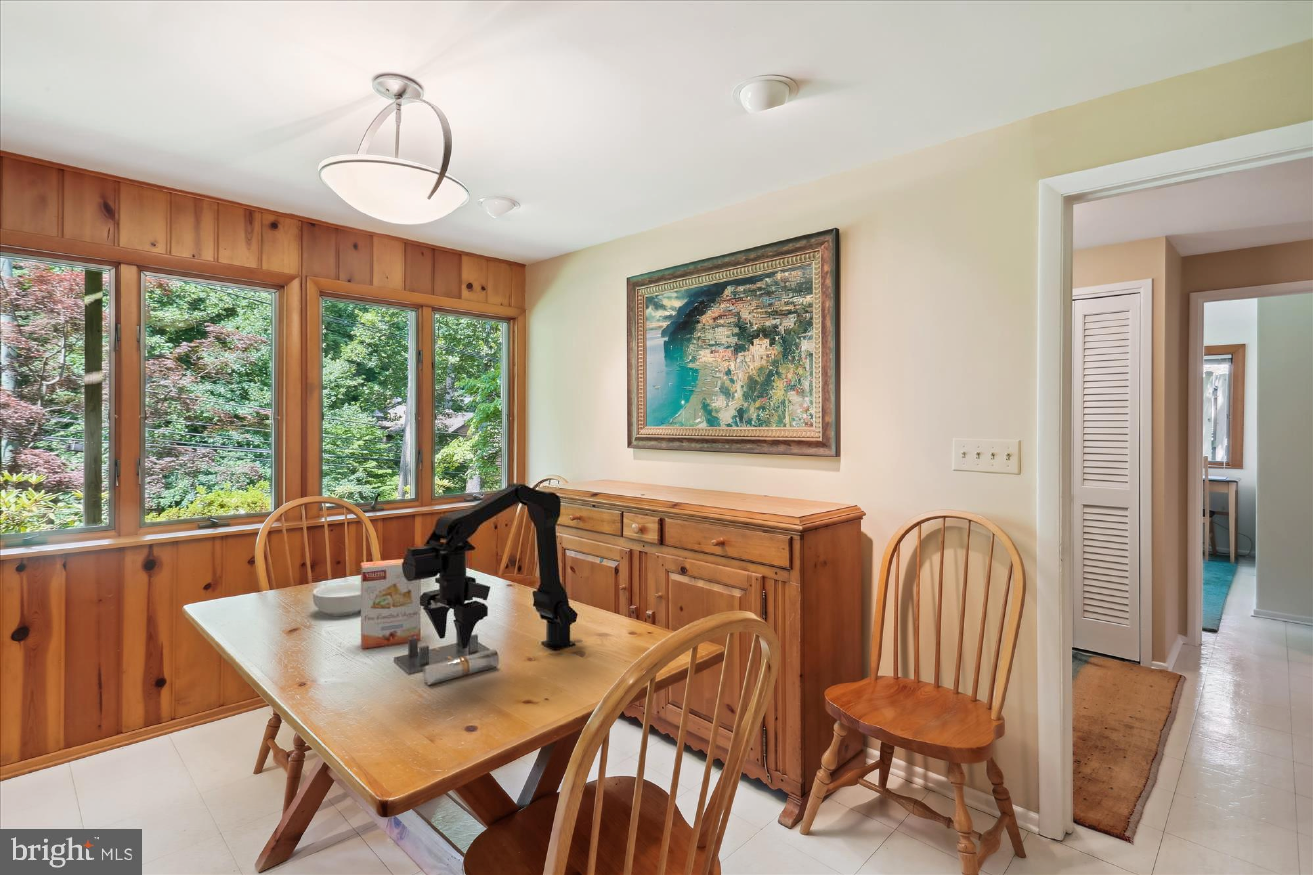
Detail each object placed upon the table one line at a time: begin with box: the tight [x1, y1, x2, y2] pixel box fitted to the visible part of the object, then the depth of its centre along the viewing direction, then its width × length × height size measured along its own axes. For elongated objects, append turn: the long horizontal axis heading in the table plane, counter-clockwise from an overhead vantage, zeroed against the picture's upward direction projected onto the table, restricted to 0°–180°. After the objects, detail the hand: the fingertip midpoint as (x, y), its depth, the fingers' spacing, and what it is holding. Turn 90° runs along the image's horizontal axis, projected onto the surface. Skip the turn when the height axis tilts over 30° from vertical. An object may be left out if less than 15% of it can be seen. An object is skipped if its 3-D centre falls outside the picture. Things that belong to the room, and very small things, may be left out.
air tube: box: [422, 648, 500, 686], centre depth 144 cm, size 16×4×4 cm, turn 130°
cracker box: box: [360, 558, 422, 650], centre depth 165 cm, size 14×6×21 cm, turn 118°
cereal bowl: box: [312, 581, 361, 617], centre depth 190 cm, size 17×17×7 cm
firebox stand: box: [393, 630, 492, 675], centre depth 155 cm, size 10×20×5 cm, turn 130°
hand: (453, 643), depth 142 cm, fingers open, 9 cm apart
